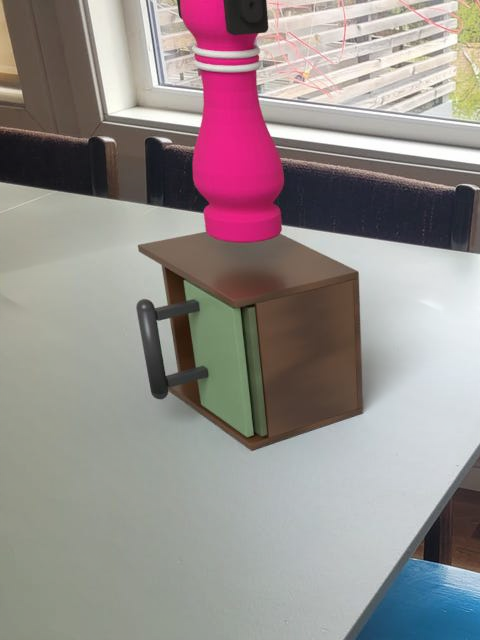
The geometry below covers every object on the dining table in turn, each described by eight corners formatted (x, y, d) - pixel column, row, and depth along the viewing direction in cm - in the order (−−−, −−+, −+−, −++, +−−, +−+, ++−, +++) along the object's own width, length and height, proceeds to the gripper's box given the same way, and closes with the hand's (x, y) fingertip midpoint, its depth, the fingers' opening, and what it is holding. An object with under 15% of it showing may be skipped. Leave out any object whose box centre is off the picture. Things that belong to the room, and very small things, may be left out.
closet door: (192, 455, 82) (172, 323, 75) (147, 420, 87) (124, 292, 80) (254, 435, 85) (240, 307, 78) (207, 402, 90) (190, 278, 83)
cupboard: (251, 450, 85) (234, 301, 77) (160, 385, 94) (137, 244, 86) (363, 413, 92) (359, 271, 83) (268, 355, 100) (256, 221, 92)
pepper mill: (235, 251, 79) (203, -53, 67) (182, 229, 83) (142, -63, 70) (305, 233, 84) (288, -56, 71) (252, 213, 87) (226, -66, 75)
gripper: (73, -310, 65) (122, 12, 77) (207, -321, 56) (240, 49, 67) (176, -296, 69) (208, 7, 81) (319, -305, 60) (332, 41, 71)
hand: (223, 23), depth 74 cm, fingers closed on pepper mill, 6 cm apart
